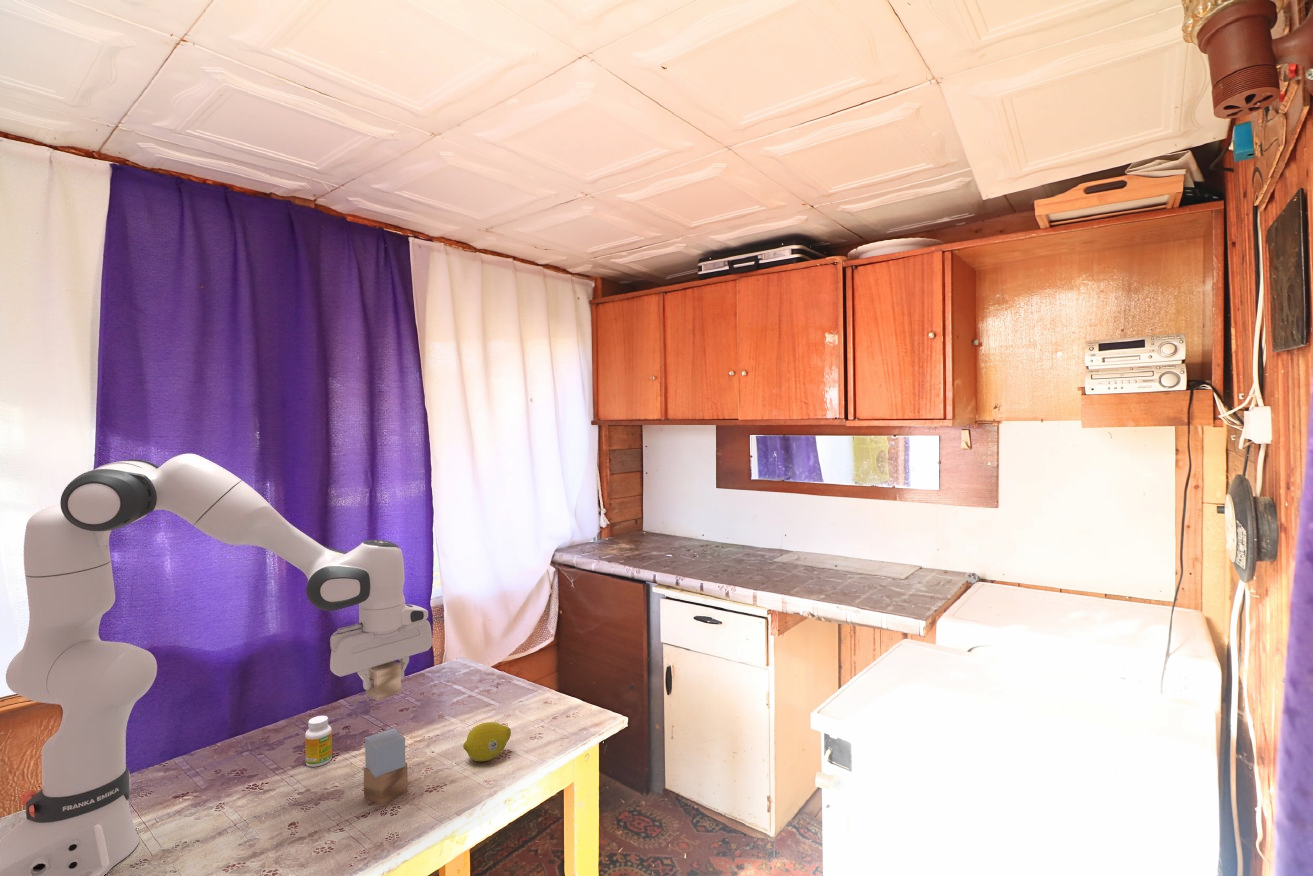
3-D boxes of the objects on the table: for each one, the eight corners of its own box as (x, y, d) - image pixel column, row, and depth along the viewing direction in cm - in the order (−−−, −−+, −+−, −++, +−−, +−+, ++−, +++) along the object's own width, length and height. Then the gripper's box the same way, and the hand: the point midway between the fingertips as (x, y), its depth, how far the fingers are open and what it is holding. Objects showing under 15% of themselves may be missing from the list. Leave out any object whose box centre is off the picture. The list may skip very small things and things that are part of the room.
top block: (375, 777, 125) (375, 748, 125) (365, 766, 130) (364, 737, 130) (405, 766, 129) (404, 737, 129) (394, 755, 134) (394, 728, 134)
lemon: (464, 771, 138) (464, 736, 138) (462, 754, 145) (461, 721, 145) (513, 761, 142) (513, 727, 142) (509, 745, 149) (508, 712, 149)
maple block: (377, 700, 126) (376, 671, 126) (366, 694, 129) (366, 665, 129) (401, 692, 130) (400, 664, 130) (390, 686, 133) (389, 658, 133)
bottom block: (382, 806, 126) (381, 777, 125) (364, 797, 129) (363, 769, 129) (407, 791, 131) (407, 763, 131) (389, 783, 134) (389, 755, 134)
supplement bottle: (320, 768, 140) (319, 726, 140) (300, 766, 141) (299, 724, 141) (337, 756, 145) (336, 715, 145) (317, 754, 146) (316, 713, 146)
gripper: (336, 633, 119) (338, 705, 120) (435, 609, 135) (436, 672, 135) (323, 627, 123) (325, 696, 124) (420, 604, 139) (421, 665, 139)
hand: (384, 683), depth 129 cm, fingers closed on maple block, 5 cm apart
